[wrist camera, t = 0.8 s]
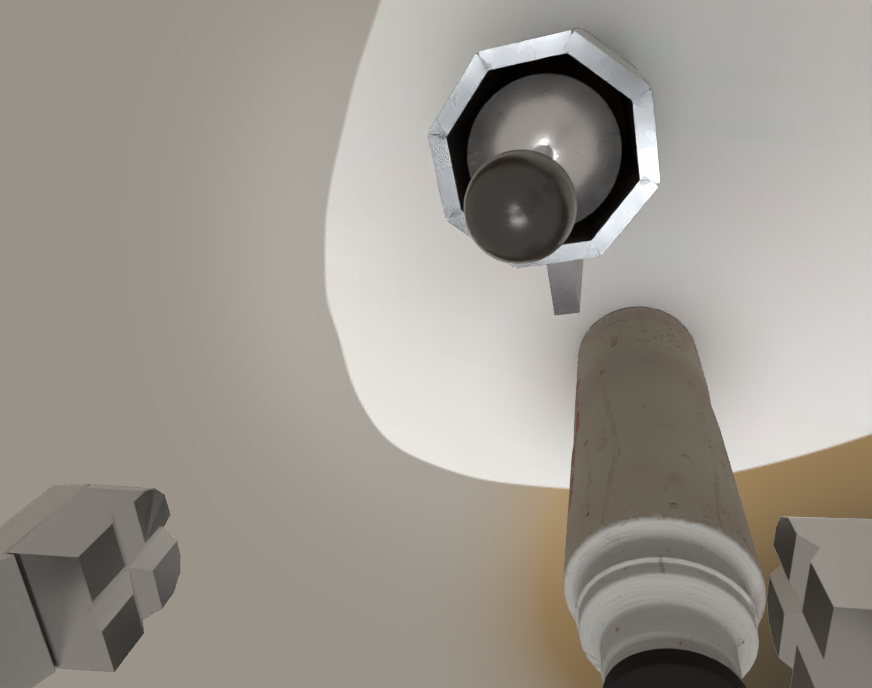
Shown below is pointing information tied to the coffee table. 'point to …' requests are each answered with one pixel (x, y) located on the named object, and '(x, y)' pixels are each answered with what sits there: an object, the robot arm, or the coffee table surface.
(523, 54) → the octagonal steel cup
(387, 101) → the coffee table surface
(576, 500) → the thermos bottle
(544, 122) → the plunger
